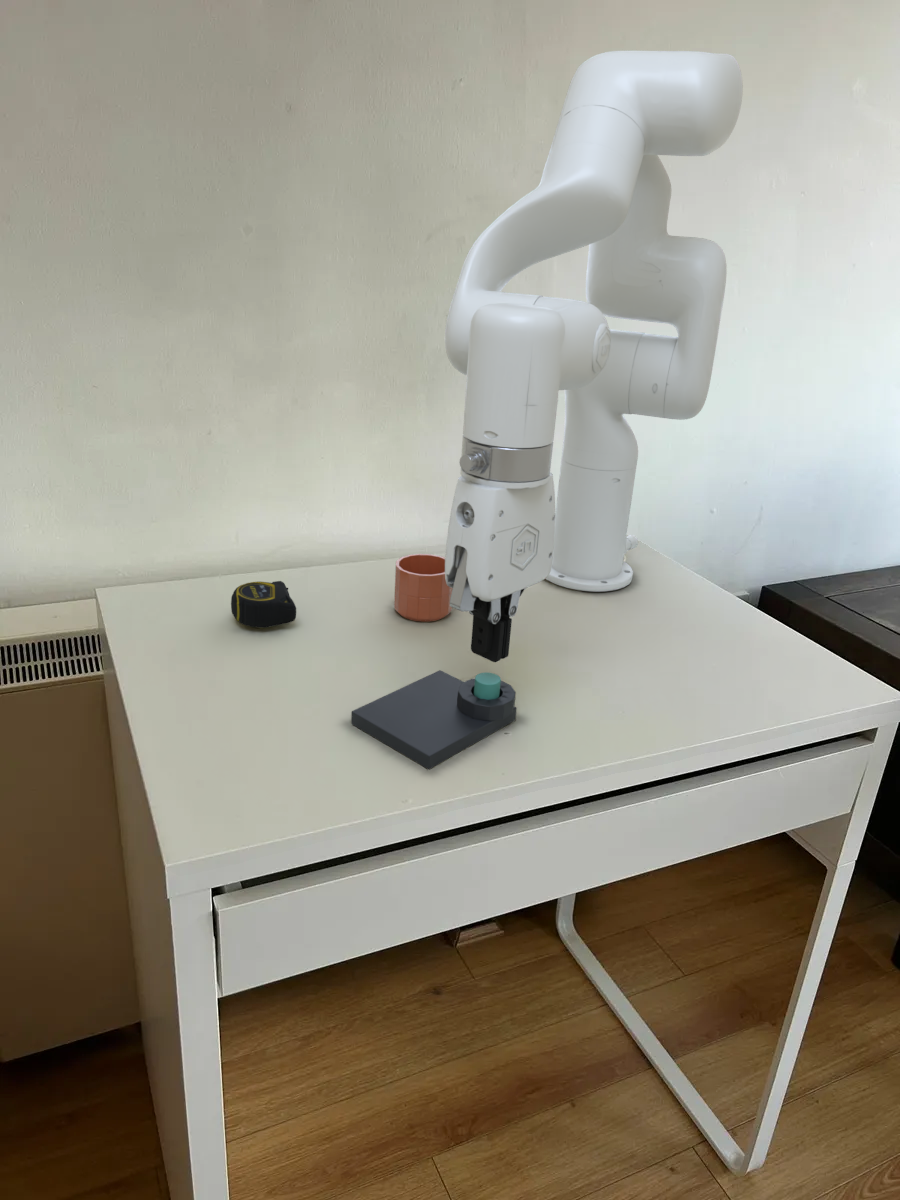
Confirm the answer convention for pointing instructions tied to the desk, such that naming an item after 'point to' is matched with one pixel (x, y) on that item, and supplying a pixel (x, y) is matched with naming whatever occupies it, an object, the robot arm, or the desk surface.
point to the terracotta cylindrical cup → (422, 588)
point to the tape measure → (263, 604)
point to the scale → (435, 717)
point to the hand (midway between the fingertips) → (489, 654)
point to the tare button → (487, 686)
